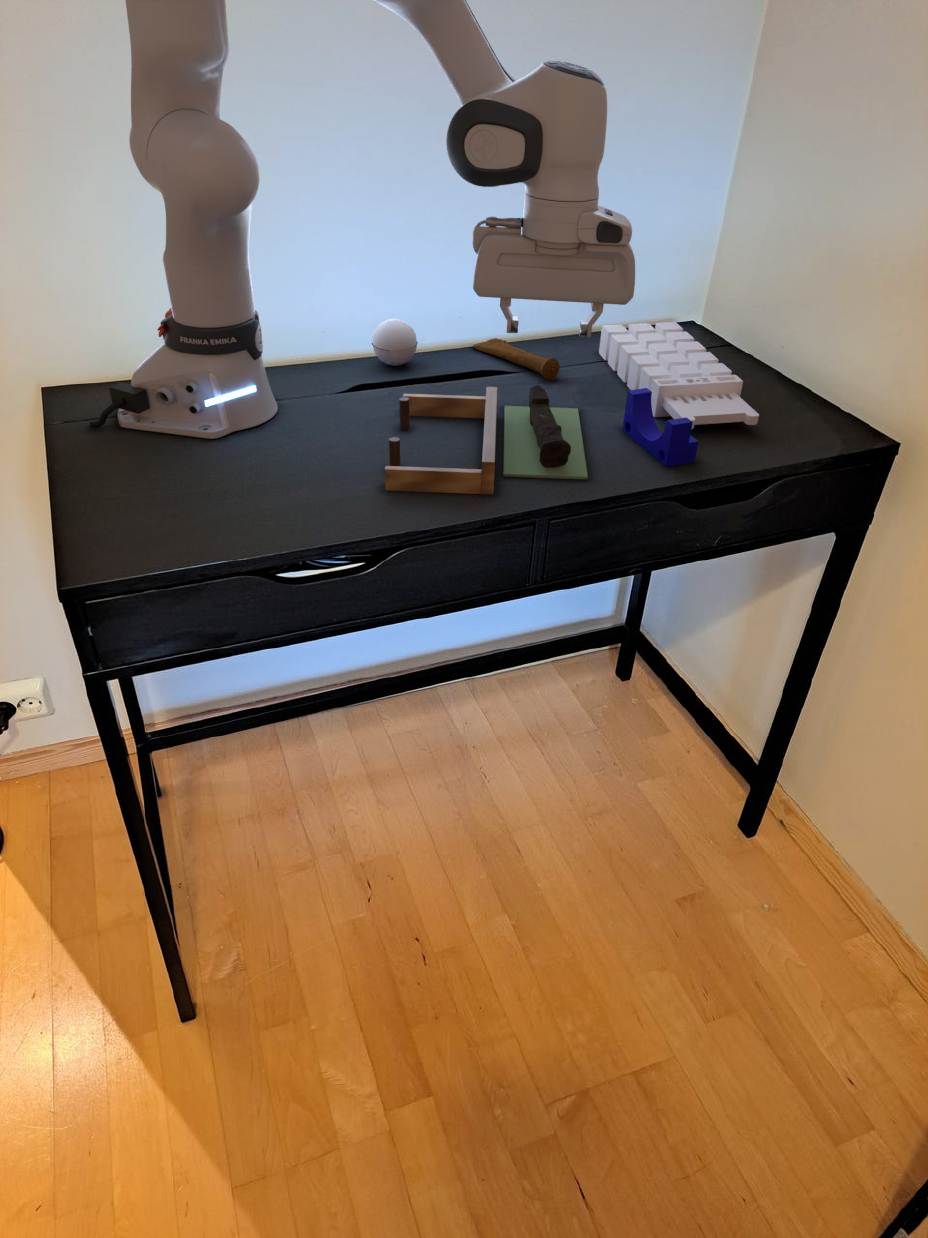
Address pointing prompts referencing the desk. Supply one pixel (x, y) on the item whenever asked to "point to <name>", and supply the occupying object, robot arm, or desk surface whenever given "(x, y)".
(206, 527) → the desk surface
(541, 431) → the hand tool
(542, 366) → the primitive tool
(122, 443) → the desk surface
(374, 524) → the desk surface
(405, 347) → the white seamed ball
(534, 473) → the mat
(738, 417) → the organizer
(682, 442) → the cable clip
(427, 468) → the tool rack
